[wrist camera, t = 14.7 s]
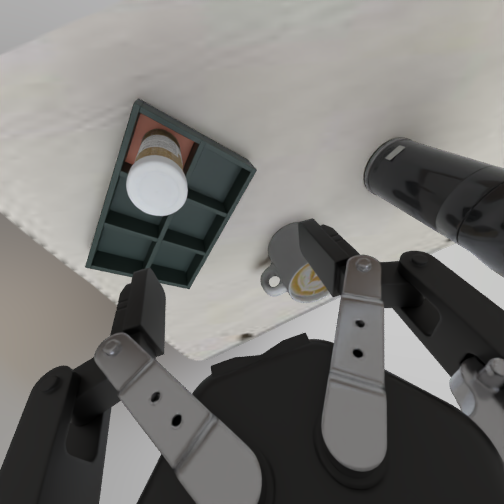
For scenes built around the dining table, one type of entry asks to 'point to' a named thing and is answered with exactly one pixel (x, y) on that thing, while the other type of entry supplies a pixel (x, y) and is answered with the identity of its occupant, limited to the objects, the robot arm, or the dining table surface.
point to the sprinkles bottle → (158, 175)
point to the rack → (178, 223)
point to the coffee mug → (291, 269)
